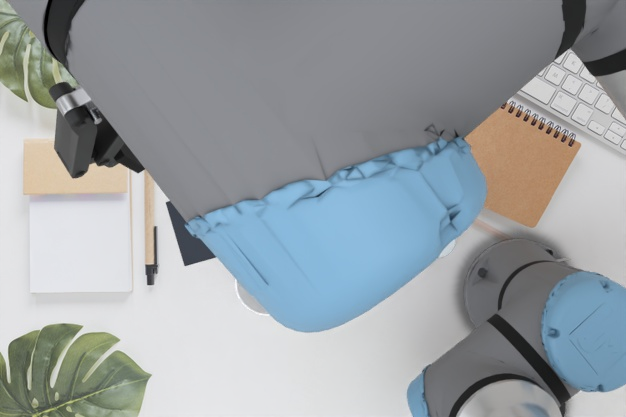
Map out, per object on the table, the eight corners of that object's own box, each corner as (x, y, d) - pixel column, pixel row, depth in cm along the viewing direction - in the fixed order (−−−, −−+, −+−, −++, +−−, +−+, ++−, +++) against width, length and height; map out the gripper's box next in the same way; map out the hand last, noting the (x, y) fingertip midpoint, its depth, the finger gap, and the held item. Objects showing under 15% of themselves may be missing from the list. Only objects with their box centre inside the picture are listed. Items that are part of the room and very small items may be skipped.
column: (239, 187, 75) (204, 191, 49) (251, 229, 76) (222, 255, 49) (214, 195, 75) (165, 202, 49) (226, 236, 76) (184, 266, 49)
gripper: (321, -177, 27) (301, 9, 48) (-140, 75, 25) (51, 155, 46) (401, -52, 27) (347, 80, 48) (-55, 214, 25) (98, 230, 46)
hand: (202, 117), depth 47 cm, fingers open, 13 cm apart
